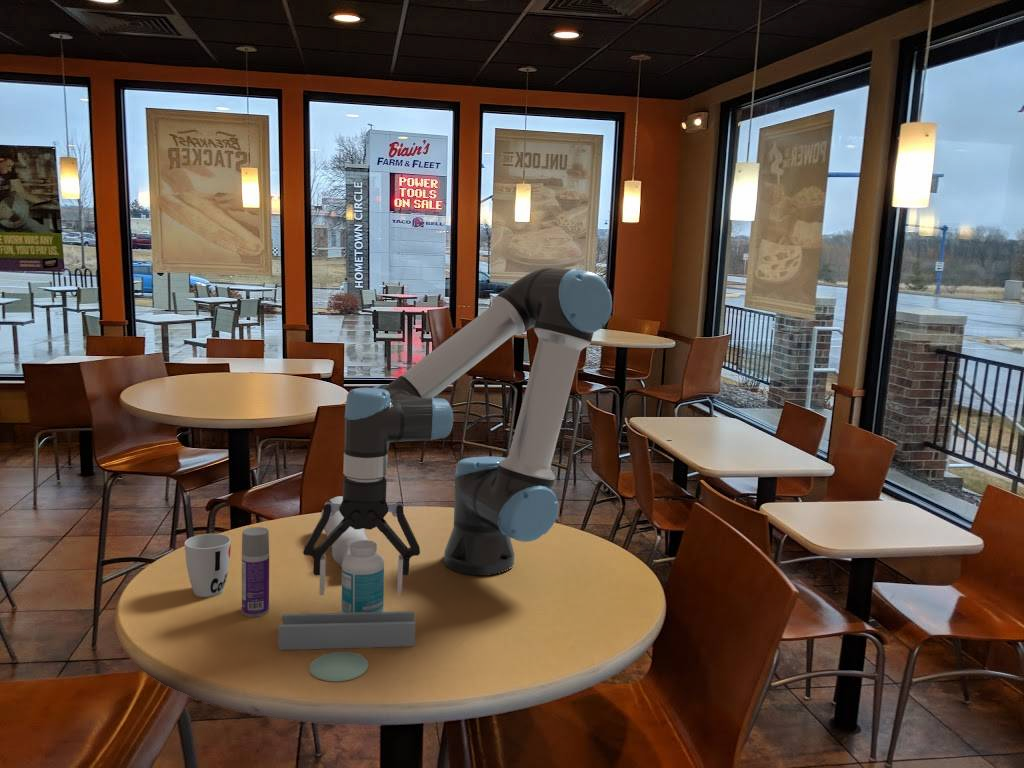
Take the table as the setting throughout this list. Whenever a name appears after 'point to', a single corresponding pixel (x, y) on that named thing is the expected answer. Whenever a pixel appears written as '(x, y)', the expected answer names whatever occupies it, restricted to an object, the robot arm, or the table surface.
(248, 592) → the container
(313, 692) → the table surface
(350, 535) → the bottle
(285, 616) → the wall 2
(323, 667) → the spot
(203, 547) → the cup
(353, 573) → the pill bottle
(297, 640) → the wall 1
